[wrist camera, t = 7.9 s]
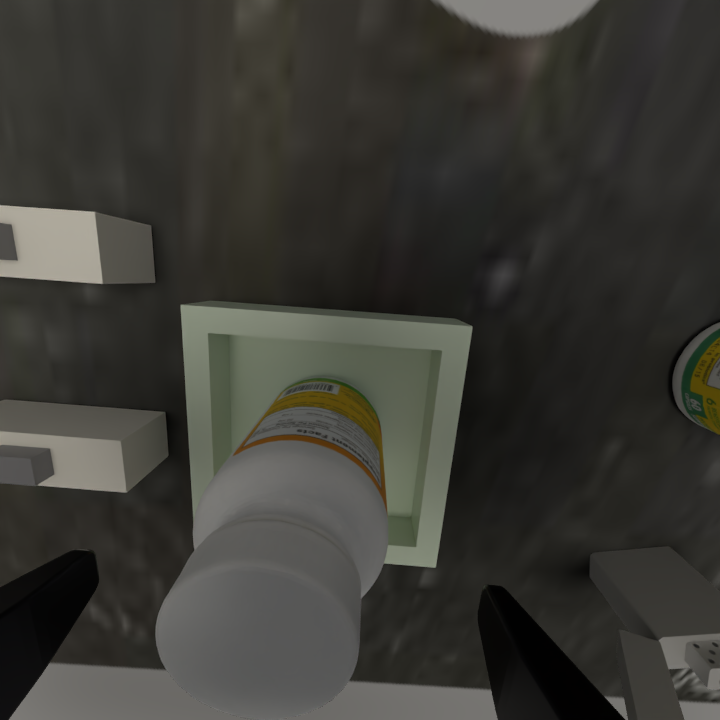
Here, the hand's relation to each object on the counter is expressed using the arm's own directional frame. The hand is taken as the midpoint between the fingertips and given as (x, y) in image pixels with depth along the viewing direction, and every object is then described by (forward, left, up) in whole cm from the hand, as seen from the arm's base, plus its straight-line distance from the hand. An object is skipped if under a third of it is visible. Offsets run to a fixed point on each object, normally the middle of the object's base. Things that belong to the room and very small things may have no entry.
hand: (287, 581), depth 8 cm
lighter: (-7, -15, -9) cm, 19 cm away
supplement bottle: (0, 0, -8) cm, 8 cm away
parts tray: (0, 0, -9) cm, 9 cm away
